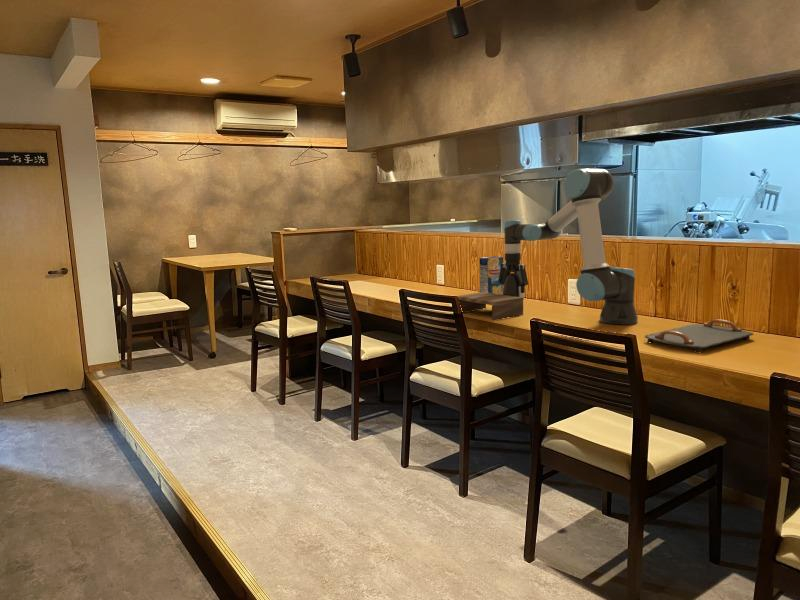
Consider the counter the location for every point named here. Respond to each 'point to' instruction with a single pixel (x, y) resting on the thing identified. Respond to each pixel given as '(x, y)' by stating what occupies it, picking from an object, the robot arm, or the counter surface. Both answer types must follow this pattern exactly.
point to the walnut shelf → (493, 304)
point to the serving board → (700, 335)
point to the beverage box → (490, 274)
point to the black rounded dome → (511, 286)
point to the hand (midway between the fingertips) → (513, 298)
